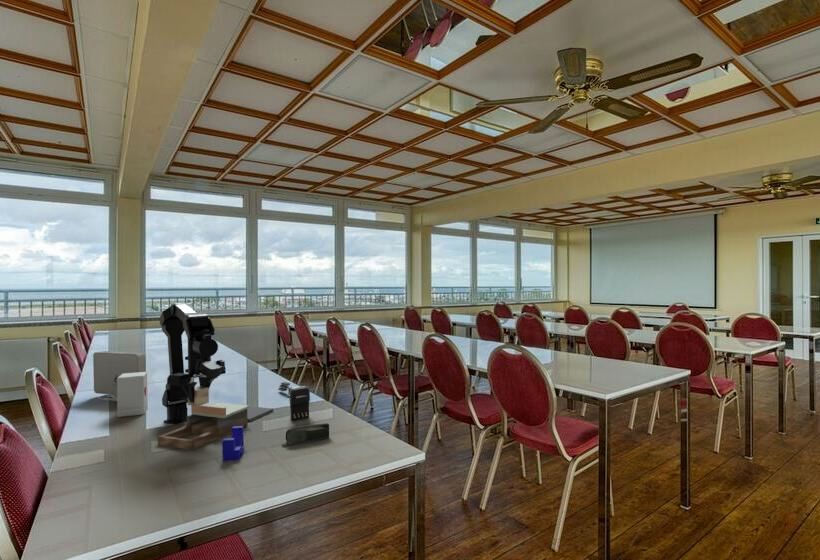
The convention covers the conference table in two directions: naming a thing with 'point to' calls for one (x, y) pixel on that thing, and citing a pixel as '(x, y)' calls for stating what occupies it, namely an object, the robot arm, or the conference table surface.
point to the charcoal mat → (256, 412)
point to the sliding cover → (218, 410)
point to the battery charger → (299, 403)
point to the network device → (114, 370)
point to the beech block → (200, 396)
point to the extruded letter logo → (285, 387)
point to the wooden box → (202, 430)
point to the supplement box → (132, 394)
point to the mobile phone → (307, 434)
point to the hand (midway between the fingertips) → (198, 400)
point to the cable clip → (233, 445)
